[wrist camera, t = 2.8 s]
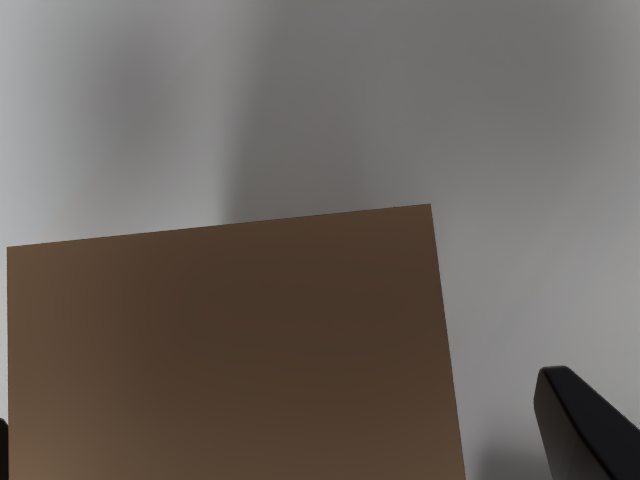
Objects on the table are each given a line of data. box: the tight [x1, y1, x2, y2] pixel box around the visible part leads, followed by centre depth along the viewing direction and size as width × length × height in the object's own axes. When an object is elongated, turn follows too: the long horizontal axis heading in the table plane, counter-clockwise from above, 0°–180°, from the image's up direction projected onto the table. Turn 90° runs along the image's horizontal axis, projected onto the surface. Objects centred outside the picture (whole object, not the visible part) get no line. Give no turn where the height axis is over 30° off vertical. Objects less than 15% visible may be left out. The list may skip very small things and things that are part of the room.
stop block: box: [7, 204, 466, 480], centre depth 12 cm, size 5×5×11 cm
